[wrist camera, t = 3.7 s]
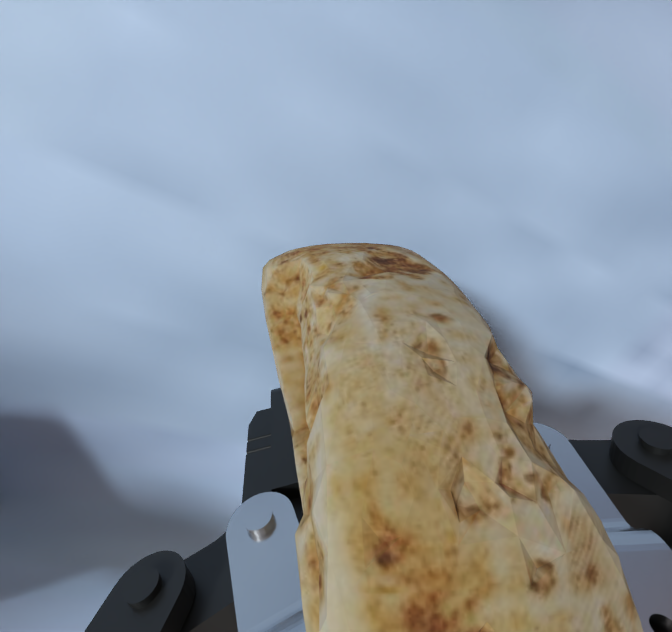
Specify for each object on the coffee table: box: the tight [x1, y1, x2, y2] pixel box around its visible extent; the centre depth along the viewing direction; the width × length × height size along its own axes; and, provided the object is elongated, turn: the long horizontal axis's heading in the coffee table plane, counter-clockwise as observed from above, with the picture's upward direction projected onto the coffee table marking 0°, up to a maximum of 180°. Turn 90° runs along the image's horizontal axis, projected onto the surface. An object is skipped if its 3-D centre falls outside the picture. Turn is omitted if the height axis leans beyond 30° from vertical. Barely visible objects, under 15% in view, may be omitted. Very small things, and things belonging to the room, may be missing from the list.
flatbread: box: [262, 243, 643, 632], centre depth 8 cm, size 10×4×10 cm, turn 7°
